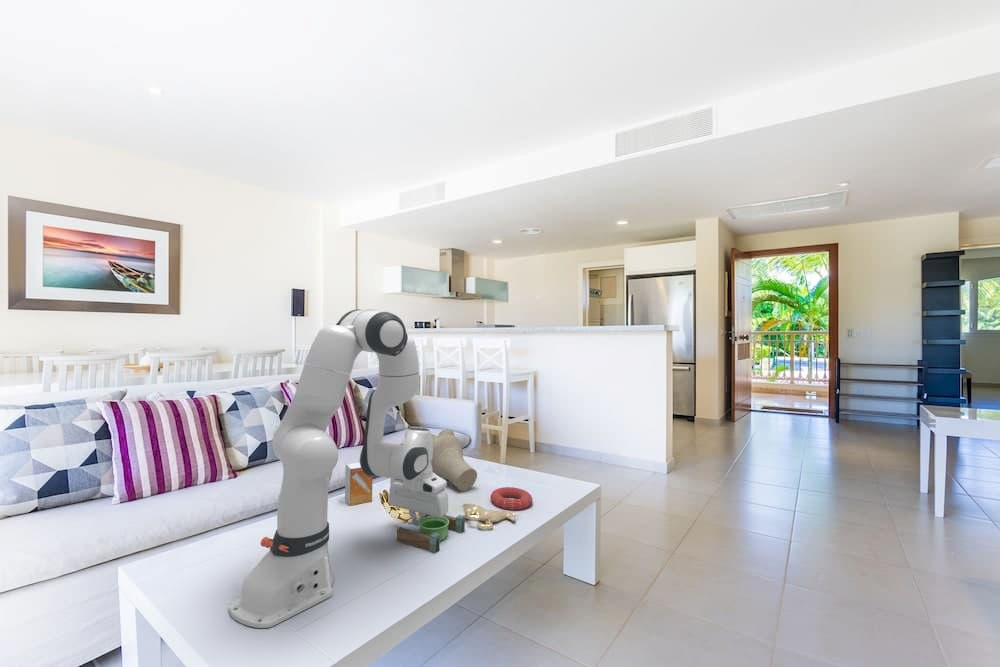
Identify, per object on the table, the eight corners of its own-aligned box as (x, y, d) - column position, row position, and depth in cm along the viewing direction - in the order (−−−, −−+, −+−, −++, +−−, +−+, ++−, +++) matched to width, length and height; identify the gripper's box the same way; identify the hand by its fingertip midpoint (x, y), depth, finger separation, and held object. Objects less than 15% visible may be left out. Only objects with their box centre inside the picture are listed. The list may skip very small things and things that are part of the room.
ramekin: (417, 531, 137) (417, 516, 137) (446, 528, 140) (446, 514, 140) (419, 545, 129) (420, 530, 129) (451, 541, 131) (451, 526, 131)
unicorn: (445, 504, 148) (481, 494, 161) (444, 516, 148) (480, 505, 161) (489, 522, 135) (524, 510, 147) (488, 536, 135) (523, 522, 147)
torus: (540, 506, 159) (541, 496, 159) (509, 515, 151) (509, 505, 150) (512, 492, 172) (512, 482, 172) (482, 500, 163) (482, 490, 163)
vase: (503, 454, 172) (461, 422, 195) (455, 455, 157) (415, 420, 179) (485, 509, 175) (446, 471, 197) (436, 515, 159) (399, 473, 182)
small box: (349, 506, 155) (349, 469, 155) (344, 500, 160) (345, 464, 160) (372, 501, 159) (373, 465, 159) (367, 495, 165) (367, 460, 164)
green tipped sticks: (435, 553, 124) (435, 537, 124) (395, 541, 131) (396, 526, 131) (464, 530, 138) (464, 516, 138) (427, 520, 145) (427, 507, 144)
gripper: (384, 477, 138) (383, 521, 139) (439, 489, 129) (438, 536, 130) (397, 471, 144) (396, 513, 144) (451, 482, 135) (450, 527, 135)
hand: (417, 524), depth 137 cm, fingers closed
